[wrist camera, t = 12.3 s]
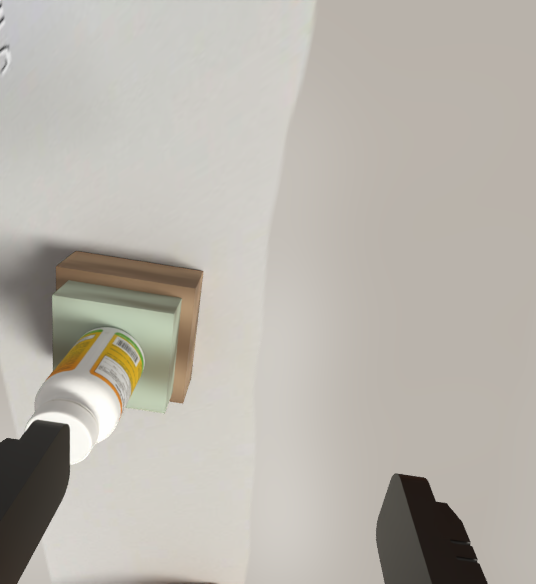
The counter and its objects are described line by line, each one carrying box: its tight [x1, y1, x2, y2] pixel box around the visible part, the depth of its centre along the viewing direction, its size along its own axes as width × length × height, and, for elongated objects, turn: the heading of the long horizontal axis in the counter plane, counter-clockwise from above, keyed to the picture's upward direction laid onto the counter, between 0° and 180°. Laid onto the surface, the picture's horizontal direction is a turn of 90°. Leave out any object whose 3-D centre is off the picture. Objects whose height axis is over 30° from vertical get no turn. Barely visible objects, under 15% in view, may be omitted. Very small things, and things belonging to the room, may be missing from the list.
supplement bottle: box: [25, 327, 145, 465], centre depth 33 cm, size 5×5×10 cm
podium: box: [52, 251, 203, 413], centre depth 41 cm, size 11×11×7 cm
